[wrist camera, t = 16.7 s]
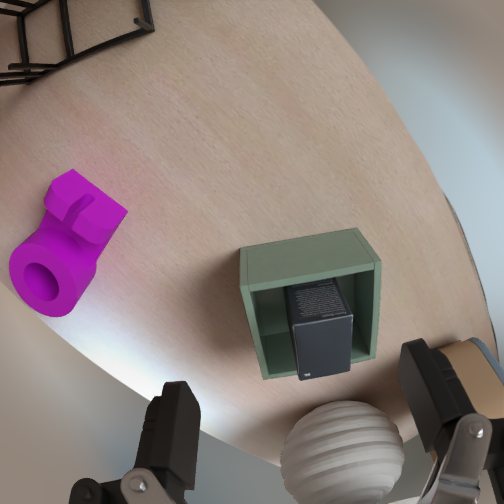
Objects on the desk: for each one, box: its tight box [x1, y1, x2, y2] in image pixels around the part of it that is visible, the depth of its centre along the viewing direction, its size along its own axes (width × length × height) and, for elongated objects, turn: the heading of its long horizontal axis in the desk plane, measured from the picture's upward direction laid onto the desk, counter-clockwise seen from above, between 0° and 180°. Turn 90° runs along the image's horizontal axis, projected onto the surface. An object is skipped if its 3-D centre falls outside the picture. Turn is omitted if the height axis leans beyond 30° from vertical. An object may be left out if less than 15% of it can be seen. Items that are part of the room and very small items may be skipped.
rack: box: [0, 0, 155, 87], centre depth 20 cm, size 16×10×9 cm, turn 100°
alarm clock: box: [430, 337, 504, 463], centre depth 39 cm, size 21×10×22 cm, turn 15°
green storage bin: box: [240, 228, 382, 380], centre depth 36 cm, size 14×14×8 cm
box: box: [283, 277, 353, 381], centre depth 34 cm, size 8×6×11 cm
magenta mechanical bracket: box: [9, 169, 128, 317], centre depth 33 cm, size 16×10×6 cm, turn 139°
